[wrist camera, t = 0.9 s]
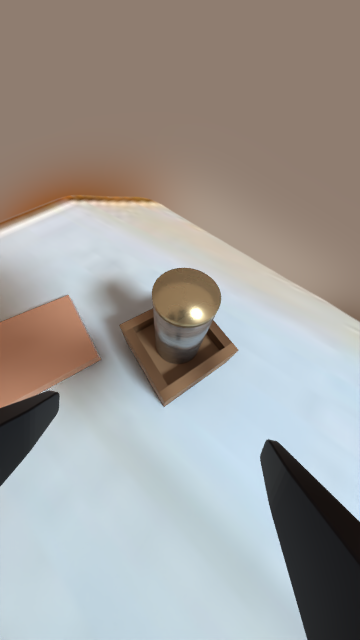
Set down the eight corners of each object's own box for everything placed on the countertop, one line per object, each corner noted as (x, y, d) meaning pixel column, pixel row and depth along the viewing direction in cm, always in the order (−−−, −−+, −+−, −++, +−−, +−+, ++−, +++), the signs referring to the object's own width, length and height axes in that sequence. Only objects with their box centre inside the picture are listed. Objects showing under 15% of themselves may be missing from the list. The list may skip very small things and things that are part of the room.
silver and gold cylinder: (171, 373, 19) (177, 336, 11) (147, 336, 21) (139, 283, 13) (207, 349, 21) (235, 303, 13) (182, 317, 22) (194, 259, 14)
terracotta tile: (4, 411, 19) (-5, 411, 18) (-13, 335, 22) (-22, 330, 21) (101, 359, 22) (98, 356, 21) (72, 300, 26) (68, 295, 25)
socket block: (164, 406, 20) (164, 402, 16) (126, 341, 23) (119, 325, 19) (225, 362, 23) (238, 350, 19) (184, 310, 26) (188, 290, 22)
